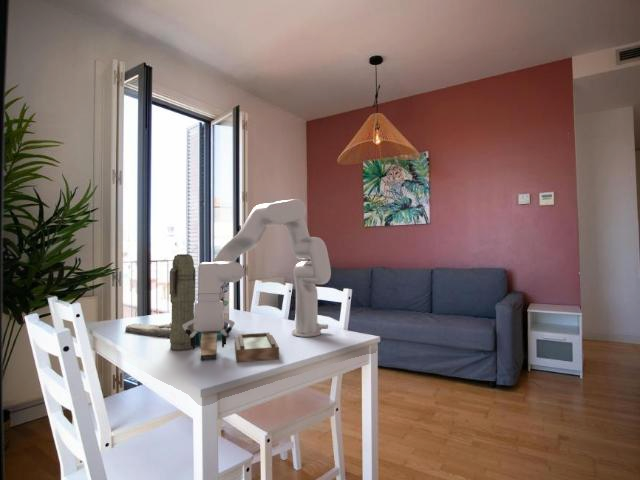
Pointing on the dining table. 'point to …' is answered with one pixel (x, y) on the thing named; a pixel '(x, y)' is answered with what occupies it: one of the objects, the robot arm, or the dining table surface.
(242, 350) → the dock
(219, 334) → the bracket
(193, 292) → the thermos
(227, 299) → the juice carton
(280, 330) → the dining table surface
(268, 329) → the dining table surface
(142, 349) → the dining table surface
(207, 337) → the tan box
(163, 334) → the long grey stone
